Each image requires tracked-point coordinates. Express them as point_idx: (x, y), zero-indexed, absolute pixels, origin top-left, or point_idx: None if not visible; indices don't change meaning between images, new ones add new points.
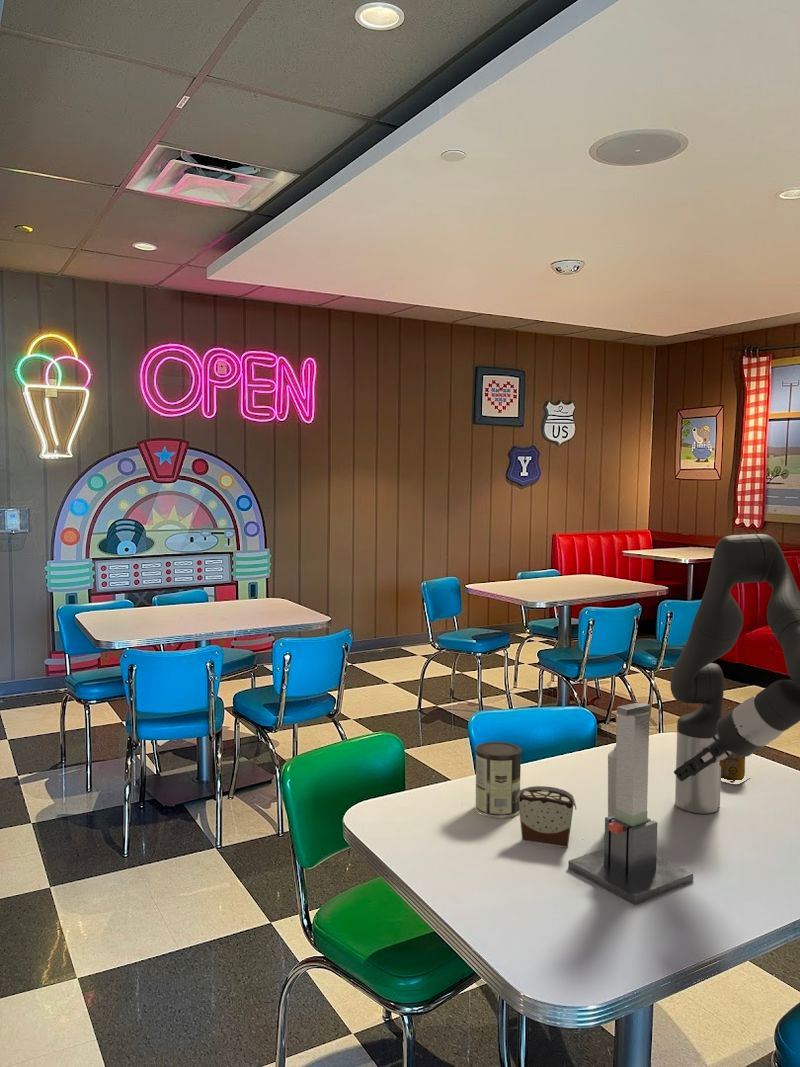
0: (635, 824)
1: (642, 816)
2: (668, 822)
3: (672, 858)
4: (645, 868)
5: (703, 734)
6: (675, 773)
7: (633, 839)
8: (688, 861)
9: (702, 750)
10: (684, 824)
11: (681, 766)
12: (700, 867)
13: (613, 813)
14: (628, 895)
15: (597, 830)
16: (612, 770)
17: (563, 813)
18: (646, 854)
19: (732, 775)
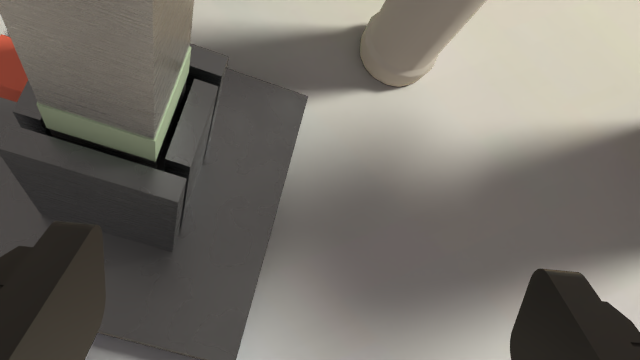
0: (67, 133)
1: (117, 137)
2: (559, 146)
3: (342, 246)
4: (112, 230)
5: None
6: (22, 249)
7: (8, 165)
8: (359, 295)
9: (573, 326)
10: (583, 187)
11: (3, 297)
12: (346, 344)
13: (384, 8)
14: None
15: (357, 4)
16: None
17: None
18: (113, 217)
19: None
